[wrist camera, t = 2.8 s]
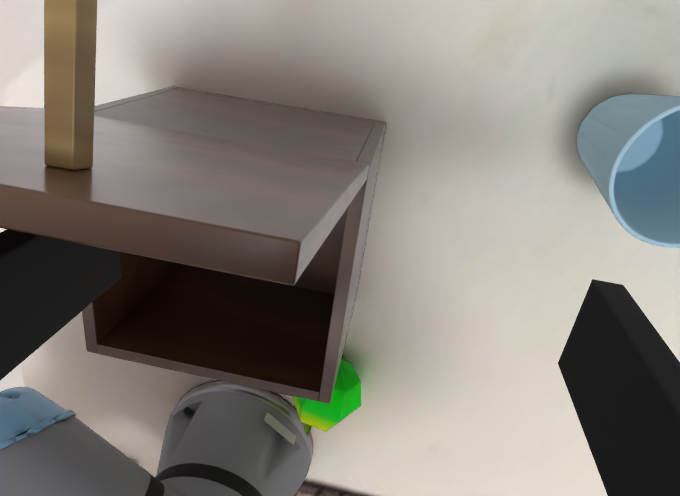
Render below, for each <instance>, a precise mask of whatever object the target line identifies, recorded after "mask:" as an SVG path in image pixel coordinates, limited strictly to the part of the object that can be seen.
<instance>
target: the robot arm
mask: <svg viewBox="0 0 680 496" xmlns="http://www.w3.org/2000/svg"><path fill="white" fill-rule="evenodd" d="M121 277H122V271H121V260H120V251H115V250H110V249H105V248H99V247H94V246H89V245H84V244H79V243H74V242H69V241H64V240H59V239H54V238H49V237H44V236H39V235H34V234H29V233H24V232H19V231H14V230H9V229H7V230H5V231H3V232H1V233H0V380H1V379H2V378H3V377H5V376H6V375H7V374H8V373H9V372H11V371H12V370H13V369H14V368H15V367H16V366H17V365H19V364H20V363H21V362H22V361H23V360H25V359H26V358H27V357H28V356H29V355H31V354H32V353H33V352H34V351H35V350H36V349H38V348H39V347H40V346H41V345H42V344H44V343H45V342H46V341H47V340H48V339H49V338H51V337H52V336H53V335H54V334H55V333H56V332H58V331H59V330H60V329H61V328H62V327H64V326H65V325H66V324H67V323H68V322H69V321H71V320H72V319H73V318H74V317H75V316H77V315H78V314H79V313H80V312H81V311H82V310H84V309H85V308H86V307H87V306H88V305H89V304H91V303H92V302H93V301H94V300H95V299H97V298H98V297H99V296H100V295H101V294H102V293H104V292H105V291H106V290H107V289H108V288H110V287H111V286H112V285H113V284H114V283H115V282H117V281H118V280H119V279H120V278H121ZM558 365H559V367H560V370H561V373H562V375H563V378H564V380H565V383H566V386H567V388H568V391H569V394H570V396H571V399H572V402H573V404H574V407H575V410H576V412H577V415H578V418H579V420H580V423H581V426H582V428H583V431H584V434H585V436H586V439H587V442H588V444H589V447H590V450H591V452H592V455H593V457H594V460H595V463H596V465H597V468H598V471H599V473H600V476H601V479H602V481H603V484H604V487H605V489H606V492H607V495H608V496H680V362H679V361H678V360H677V358H676V357H675V355H674V354H673V353H672V351H671V350H670V349H669V347H668V346H667V344H666V343H665V342H664V340H663V339H662V338H661V336H660V335H659V334H658V332H657V331H656V329H655V328H654V327H653V325H652V324H651V323H650V321H649V320H648V318H647V317H646V316H645V314H644V313H643V312H642V310H641V309H640V307H639V306H638V305H637V303H636V302H635V301H634V299H633V298H632V297H631V295H630V294H629V292H628V291H627V290H626V288H625V287H624V286H623V285H620V284H614V283H609V282H603V281H598V280H592V282H591V284H590V287H589V289H588V292H587V294H586V296H585V299H584V301H583V304H582V306H581V309H580V311H579V313H578V316H577V318H576V321H575V323H574V326H573V328H572V331H571V333H570V335H569V338H568V340H567V343H566V345H565V348H564V350H563V352H562V355H561V357H560V360H559V362H558ZM75 415H76V414H75V413H74V412H73V411H72V410H69V411H67V410H65V409H64V408H62V407H61V406H59V405H58V404H56V403H55V402H53V401H52V400H50V399H49V398H47V397H46V396H44V395H43V394H41V393H40V392H38V391H36V390H34V389H32V388H28V387H15V388H10V389H7V390H4V391H2V392H0V496H294V495H295V493H296V492H297V490H298V489H299V488H300V486H301V485H302V483H303V481H304V479H305V477H306V475H307V473H308V470H309V466H310V462H311V458H312V453H313V443H312V438H311V435H310V432H309V434H308V437H307V435H306V433H305V430H304V428H303V426H304V425H305V423H303V422H301V421H300V418H299V415H298V412H297V411H296V410H295V409H294V408H293V407H292V406H291V405H289V404H288V403H287V402H286V401H284V400H283V399H282V398H280V397H279V396H277V395H275V394H274V393H272V392H270V391H267V390H262V389H258V388H253V387H248V386H244V385H239V384H235V383H230V382H225V381H215V382H210V383H206V384H203V385H200V386H198V387H196V388H194V389H192V390H191V391H189V392H188V393H187V394H186V395H185V396H184V397H183V398H182V399H181V400H180V402H179V403H178V405H177V406H176V408H175V409H174V411H173V413H172V414H171V416H170V419H169V422H168V424H167V427H166V432H165V437H164V442H163V446H162V451H161V456H160V461H159V466H158V471H157V475H156V477H153V476H152V475H151V474H150V473H149V472H147V471H146V470H144V469H143V468H142V467H140V466H139V465H138V464H136V463H135V462H134V461H132V460H131V459H129V458H128V457H127V456H125V455H124V454H123V453H121V452H120V451H119V450H117V449H116V448H115V447H114V446H112V445H111V444H110V443H108V442H107V441H106V440H104V439H103V438H102V437H101V436H99V435H98V434H97V433H95V432H94V431H93V430H91V429H90V428H89V427H87V426H86V425H85V424H84V423H82V422H81V421H80V420H78V419H77V418H76V417H74V416H75Z"/></svg>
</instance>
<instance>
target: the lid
mask: <svg viewBox="0 0 680 496" xmlns="http://www.w3.org/2000/svg"><path fill="white" fill-rule="evenodd" d="M96 24H97V0H44V108H26V107H5V106H0V228H4V229H9V230H14V231H19V232H24V233H29V234H34V235H39V236H44V237H49V238H54V239H59V240H64V241H69V242H74V243H79V244H84V245H89V246H94V247H99V248H105V249H110V250H115V251H120V252H125V253H130V254H135V255H140V256H145V257H150V258H155V259H160V260H165V261H170V262H175V263H180V264H185V265H190V266H195V267H200V268H205V269H210V270H216V271H221V272H226V273H231V274H236V275H241V276H246V277H251V278H256V279H261V280H266V281H271V282H276V283H281V284H286V285H291V286H292V285H295V283H296V282H297V280H298V279H299V277H300V276H301V274H302V273H303V271H304V270H305V269H306V267H307V266H308V264H309V263H310V261H311V260H312V258H313V257H314V255H315V254H316V253H317V251H318V250H319V248H320V247H321V245H322V244H323V242H324V241H325V239H326V238H327V237H328V235H329V234H330V232H331V231H332V229H333V228H334V226H335V225H336V223H337V222H338V221H339V219H340V218H341V216H342V215H343V213H344V212H345V210H346V209H347V207H348V206H349V205H350V203H351V202H352V200H353V199H354V197H355V196H356V194H357V193H358V191H359V190H360V189H361V187H362V186H363V184H364V183H365V181H366V180H367V175H368V170H369V164H366V163H360V162H354V161H349V160H343V159H337V158H331V157H326V156H320V155H314V154H309V153H303V152H297V151H291V150H286V149H280V148H274V147H269V146H263V145H257V144H251V143H246V142H240V141H234V140H228V139H223V138H217V137H211V136H206V135H200V134H194V133H188V132H183V131H177V130H171V129H166V128H160V127H154V126H148V125H143V124H137V123H131V122H126V121H120V120H114V119H108V118H103V117H97V116H94V100H95V62H96Z"/></svg>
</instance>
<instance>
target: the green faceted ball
mask: <svg viewBox="0 0 680 496" xmlns="http://www.w3.org/2000/svg"><path fill="white" fill-rule="evenodd" d="M293 399H294V403H295V410H296V411H297V412H298V415H299V418H300V421H301V422H303V423H305V425H304V426H303V428H304V430H305V433H306V435H307V437H308V434H309V432H310V429H311V427H312V426H313V427H316V428H318V429H321V430H323V431H328V430H329V429H330V428H332V427H333V426H334V425H336V424H337V423H338V422H340V421H341V420H342V419H344V418H345V417H346V416H348V415H349V414H350V413H352V412H353V411H354V410H356V409H357V408H358V407H360V406H361V385H360V380H359V378H358V376H357V374H356V372H355V370H354V368H353V366H352V364H351V363H350V362H347V361H345V360H342V359H341V362H340V366H339V370H338V374H337V379H336V383H335V387H334V391H333V395H332V399H331V403H330V404H327V403H323V402H319V401H313V400H308V399H304V398H299V397H294V396H293Z"/></svg>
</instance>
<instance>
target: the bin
mask: <svg viewBox="0 0 680 496" xmlns="http://www.w3.org/2000/svg"><path fill="white" fill-rule="evenodd" d="M94 116H97V117H103V118H108V119H114V120H120V121H126V122H131V123H137V124H143V125H148V126H154V127H160V128H166V129H171V130H177V131H183V132H188V133H194V134H200V135H206V136H211V137H217V138H223V139H228V140H234V141H240V142H246V143H251V144H257V145H263V146H269V147H274V148H280V149H286V150H291V151H297V152H303V153H309V154H314V155H320V156H326V157H331V158H337V159H343V160H349V161H354V162H360V163H366V164H369V170H368V175H367V180H366V181H365V183H364V184H363V186H362V187H361V189H360V190H359V191H358V193H357V194H356V196H355V197H354V199H353V200H352V202H351V203H350V205H349V206H348V207H347V209H346V210H345V212H344V213H343V215H342V216H341V218H340V219H339V221H338V222H337V223H336V225H335V226H334V228H333V229H332V231H331V232H330V234H329V235H328V237H327V238H326V239H325V241H324V242H323V244H322V245H321V247H320V248H319V250H318V251H317V253H316V254H315V255H314V257H313V258H312V260H311V261H310V263H309V264H308V266H307V267H306V269H305V270H304V271H303V273H302V274H301V276H300V277H299V279H298V280H297V282H296V283H295V285H292V286H291V285H286V284H281V283H276V282H271V281H266V280H261V279H256V278H251V277H246V276H241V275H236V274H231V273H226V272H221V271H216V270H210V269H205V268H200V267H195V266H190V265H185V264H180V263H175V262H170V261H165V260H160V259H155V258H150V257H145V256H140V255H135V254H130V253H125V252H120V260H121V271H122V277H121V278H120V279H119V280H118V281H117V282H115V283H114V284H113V285H112V286H111V287H110V288H108V289H107V290H106V291H105V292H104V293H102V294H101V295H100V296H99V297H98V298H97V299H95V300H94V301H93V302H92V303H91V304H89V305H88V306H87V307H86V308H85V309H84V310H82V314H83V322H84V331H85V339H86V347H87V351H89V352H93V353H98V354H101V355H106V356H110V357H115V358H120V359H124V360H129V361H133V362H138V363H143V364H147V365H152V366H156V367H161V368H166V369H170V370H175V371H179V372H184V373H189V374H193V375H198V376H202V377H207V378H212V379H216V380H221V381H225V382H230V383H235V384H239V385H244V386H248V387H253V388H258V389H262V390H267V391H271V392H276V393H281V394H285V395H290V396H294V397H299V398H304V399H308V400H313V401H319V402H323V403H327V404H330V403H331V399H332V395H333V391H334V387H335V383H336V379H337V374H338V370H339V366H340V362H341V358H342V354H343V350H344V346H345V342H346V338H347V333H348V329H349V325H350V321H351V317H352V313H353V309H354V305H355V301H356V295H357V289H358V283H359V278H360V272H361V266H362V260H363V255H364V249H365V243H366V237H367V232H368V226H369V220H370V214H371V209H372V203H373V197H374V191H375V186H376V180H377V174H378V168H379V163H380V157H381V151H382V145H383V140H384V134H385V128H386V122H381V121H375V120H369V119H363V118H357V117H351V116H345V115H339V114H333V113H328V112H322V111H316V110H310V109H304V108H298V107H292V106H286V105H280V104H274V103H268V102H262V101H256V100H250V99H244V98H238V97H232V96H226V95H220V94H214V93H208V92H202V91H196V90H190V89H184V88H178V87H168V88H164V89H160V90H156V91H153V92H149V93H145V94H141V95H137V96H133V97H129V98H125V99H121V100H117V101H114V102H110V103H106V104H102V105H98V106H94Z"/></svg>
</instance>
